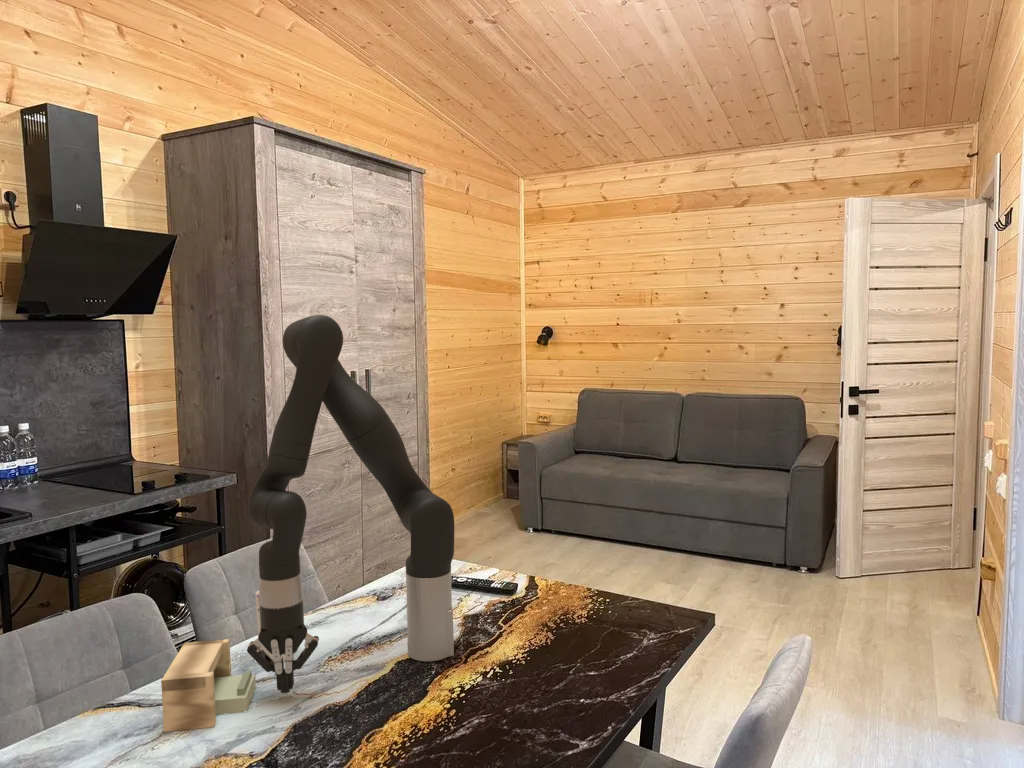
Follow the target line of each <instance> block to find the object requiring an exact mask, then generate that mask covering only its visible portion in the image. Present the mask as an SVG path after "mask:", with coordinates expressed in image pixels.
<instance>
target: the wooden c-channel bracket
mask: <svg viewBox="0 0 1024 768" xmlns="http://www.w3.org/2000/svg"><path fill="white" fill-rule="evenodd" d="M230 643H231V641H230V638H226V639H214V640H213V639H212V640H200V641H191V642H190V641H187V642H184V643H183V645H182V646H181V648H180V650H179V651H178V653H177V655H175V658H174V659H173V661H172V662H171V664H170V665H169V667H168V669H167V671H166V672H165V674H164V675H163V677H162V679H161V680H160V682H161V683H160V684H161V699H162V700H161V701H162V702H161V703H162V719H163V733H167V732H168V733H169V732H177V730H179V731H188V729H189V730H198V729H207V728H215V726H216V724H217V716H216V715H217V714H216V711H215V691H214V677H226V676H232V662H231V645H230Z"/></svg>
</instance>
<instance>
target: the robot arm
mask: <svg viewBox="0 0 1024 768" xmlns="http://www.w3.org/2000/svg"><path fill="white" fill-rule="evenodd" d="M343 345H344V334H343V331H342V329H341V327H340V325H339V324H338V322H337V321H336V320H335V319H333V318H332V317H330V316H328V315H324V314H314V315H309V316H306V317H303V318H301V319H298V320H296V321H294V322H291V323H290V324H289V325H288V326H287V327H286V328H285V329H284V332H283V335H282V347H283V350H284V352H285V355H286V357H287V358H288V360H289V361H290V362H291V363H292V365H293V366H294V367H295V369H296V370H295V375H294V379H293V383H292V386H291V389H290V392H289V394H288V396H287V399H286V400H285V403H284V406H283V407H282V410H281V412H280V414H279V416H278V419H277V420H276V424H275V426H274V430H273V433H272V437H271V441H270V446H269V450H268V455H267V459H266V463H265V465H264V467H263V469H262V471H261V472H260V474H259V476H258V479H257V480H256V482H255V485H254V486H253V489H252V490H251V493H250V496H249V499H248V503H247V504H248V505H247V513H248V517H249V520H250V521H251V523H253V524H254V525H256V527H257V526H258V527H260V528H264V529H271V530H272V531H273V532H272V533H273V534H272V538H271V539H272V540H269V541H267V542H264V543H263V544H261V546H260V547H259V551H258V570H259V571H258V572H259V582H258V583H259V585H258V591H259V604H260V624H261V630H260V633H259V635H258V634H257V638H256V639H254V641H253V640H252V641H250V642H249V644H248V646H247V649H246V652H247V653H248V655H250V657H251V658H252V659H253V660H255V661H256V663H257V664H258V665H259V666H260V667H261V668H262V669H263V670H264V671H265V672H266V673H270V672H273V673H275V674H276V677H275V678H276V688H277V691H280V693H281V694H286V693H290V692H291V690H292V689H293V687H294V684H295V676H294V673H295V672H294V671H296V670H300V669H302V668H303V667H304V665H305V663H306V662H308V660H309V658H310V656H311V655H312V654H313V652H314V651H315V650H316V648H317V647H318V645H319V640H320V638H319V636H318V635H314V636H313V635H312V634H310V633H308V628H307V627H306V624H305V615H304V595H303V594H304V590H303V581H302V575H301V563H300V562H301V558H300V550H301V549H300V548H301V546H302V545H301V544H302V541H303V536H304V533H305V528H306V527H305V526H306V522H307V512H308V511H307V506H306V504H305V501H304V499H303V497H302V496H301V495H300V494H298V493H296V492H294V491H289V490H287V488H288V486H289V484H290V482H291V480H294V479H297V478H301V477H302V476H304V475H305V473H306V470H307V467H308V462H309V457H310V453H311V448H312V443H313V439H314V436H315V435H314V434H315V430H316V425H317V421H318V418H319V414H320V411H321V407H322V404H324V406H325V408H326V409H327V411H328V412H329V414H330V416H331V417H332V419H333V420H334V422H335V423H336V424H337V426H338V428H339V429H340V431H341V432H342V434H343V436H344V438H345V439H346V440H347V442H348V444H349V445H350V446H351V448H352V450H353V451H354V452H355V454H356V455H357V456H358V458H359V459H360V460H361V462H362V463H363V465H364V466H365V468H367V470H368V471H369V472H370V474H371V475H372V476H373V478H375V479H376V480H377V482H378V483H379V484H380V486H381V487H382V488H383V490H384V492H385V493H386V495H387V497H388V499H389V500H390V502H391V504H392V506H393V508H394V510H395V512H396V514H397V516H398V518H399V520H400V522H401V524H402V526H403V527H404V528H405V530H407V532H409V533H410V555H408V556H407V558H406V560H405V583H406V584H405V585H406V587H405V590H406V621H407V622H406V623H407V624H406V626H407V629H406V630H407V654H408V657H409V658H411V659H412V660H416V661H419V662H434V661H440V660H444V659H446V658H448V657H454V656H455V649H454V648H455V645H454V641H455V640H454V638H455V637H454V610H453V606H452V605H453V604H452V602H453V601H452V596H453V595H452V561H453V559H454V554H455V516H454V510H453V507H452V506H451V504H450V503H449V502H448V501H447V500H445V499H443V498H442V497H440V496H438V495H437V494H435V493H434V492H433V491H432V490H430V488H429V487H428V486H427V484H426V483H424V481H423V479H422V478H421V477H420V476H419V474H418V473H417V472H416V470H415V468H414V467H413V465H412V463H411V461H410V459H409V458H410V457H409V456H408V453H407V449H406V446H405V443H404V441H403V439H402V437H401V435H400V432H399V430H398V429H397V427H396V425H395V424H394V422H393V420H392V419H391V418H390V416H389V415H388V413H387V411H386V410H385V408H384V407H383V406H382V405H381V403H380V402H378V401H377V399H375V398H374V397H373V396H372V395H371V394H370V393H369V392H368V391H366V390H365V388H363V387H362V386H361V385H360V384H358V383H357V382H356V381H355V380H354V379H353V377H352V376H350V375H349V374H348V372H347V371H346V369H345V367H343V365H342V364H341V362H340V360H339V357H340V354H341V352H342V348H343ZM303 641H305V642H304V644H303V645H304V646H303V647H304V649H303V650H302V651H301V653H300V654H299V655H298V657H297V658H296V659H294V658H295V652H297V651H298V650H299V648H300V646H301V645H302V643H303ZM261 643H262V644H261ZM262 645H263V646H264V647H265V648H266V649H267V650H268V651H269V652H270V653H271V654H273V660H272V659H271V658H270V657H269V656H268V655H267V654H266V653H265V652H264V651H263V650H262V648H263V646H262ZM297 649H298V650H297ZM296 650H297V651H296ZM283 654H285V662H284V660H283Z"/></svg>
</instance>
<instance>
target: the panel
mask: <svg viewBox="0 0 1024 768" xmlns="http://www.w3.org/2000/svg"><path fill="white" fill-rule="evenodd" d="M256 683H257V680H256V673H254V674H253V673H252V670H244V672H243V674H242V675H241V674H240V675H231V676H226V677H214V691H215V711H216V715H225V714H224V713H227V714H237V713H236V712H238V713H245V712H244V711H248V710H249V706H250V703H251V702H250V701H252V698H253V695H254V694H255V690H256V688H257V684H256ZM253 693H254V694H253ZM247 709H248V710H247Z"/></svg>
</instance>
